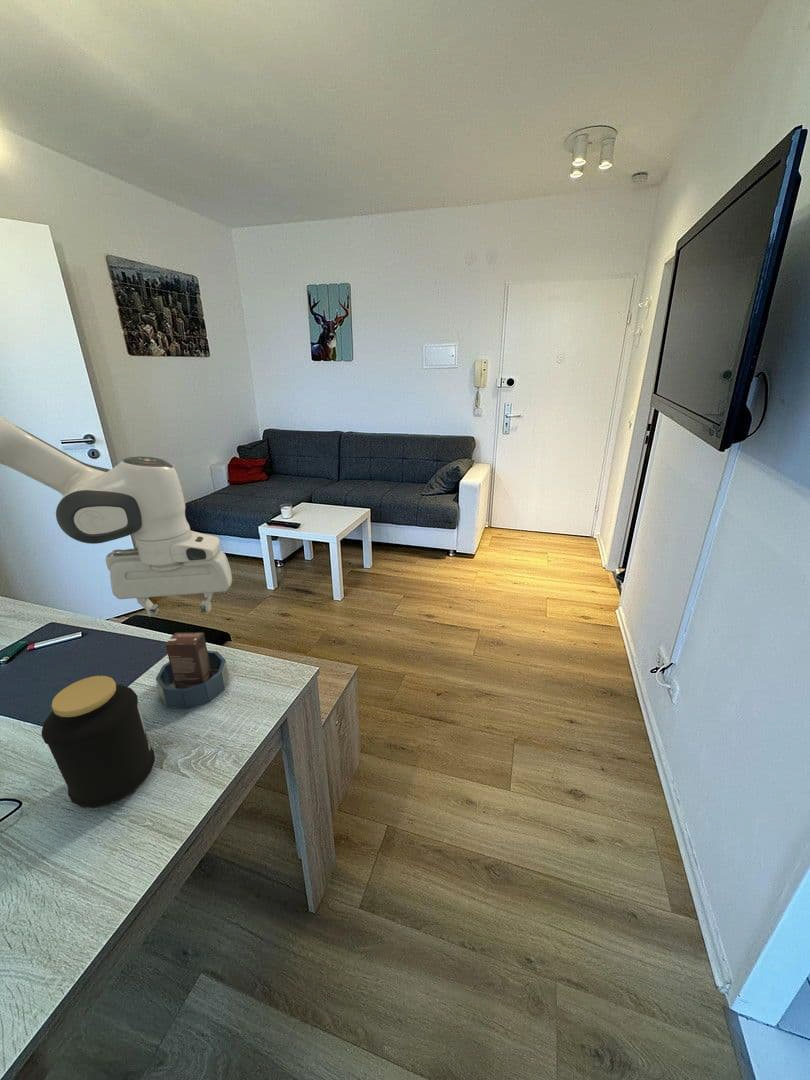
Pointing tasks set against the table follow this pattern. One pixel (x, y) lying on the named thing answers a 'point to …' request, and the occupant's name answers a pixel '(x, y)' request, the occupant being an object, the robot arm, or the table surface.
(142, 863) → the table surface
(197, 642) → the box
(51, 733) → the container
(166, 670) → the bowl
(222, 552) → the robot arm
